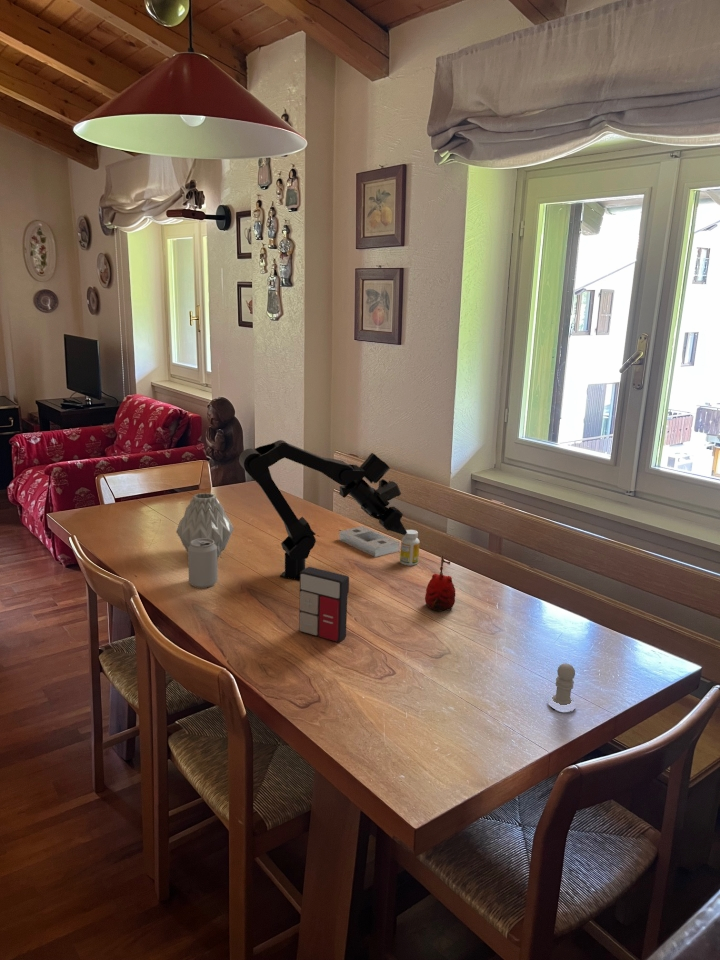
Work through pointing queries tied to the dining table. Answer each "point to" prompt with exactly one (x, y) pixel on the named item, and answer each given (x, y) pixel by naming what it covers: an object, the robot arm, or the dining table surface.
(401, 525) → the robot arm
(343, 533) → the light grey flat slab
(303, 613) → the grey and red box
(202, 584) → the can
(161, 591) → the dining table surface
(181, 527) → the vase
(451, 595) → the red lumpy oval
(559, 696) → the chess piece
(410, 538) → the supplement bottle
